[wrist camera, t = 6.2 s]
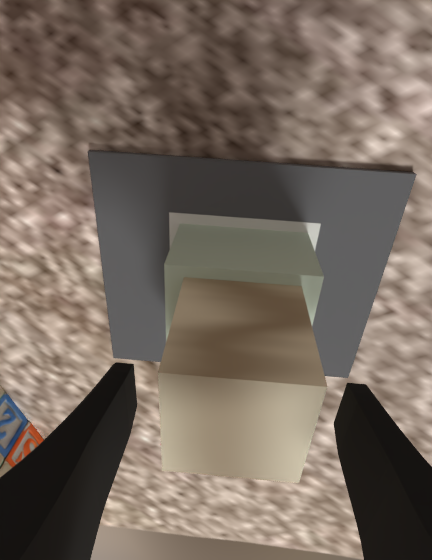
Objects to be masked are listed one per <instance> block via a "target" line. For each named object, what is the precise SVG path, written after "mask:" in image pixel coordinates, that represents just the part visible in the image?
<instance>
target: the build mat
mask: <svg viewBox="0 0 432 560" xmlns="http://www.w3.org/2000/svg"><path fill="white" fill-rule="evenodd" d="M88 157H89V165H90V173H91V181H92V189H93V197H94V205H95V213H96V221H97V229H98V237H99V245H100V253H101V261H102V269H103V277H104V285H105V293H106V301H107V309H108V317H109V325H110V333H111V341H112V349H113V357H114V358H120V359H132V360H144V361H155V362H161V359H162V356H163V352H164V348H165V345H166V318H165V278H164V263H165V261H166V258H167V256H168V253H169V250H170V248H171V245H172V243H173V240H174V237H175V235H176V232H177V230H178V227H179V224H180V223H181V224H194V225H208V226H221V227H235V228H248V229H262V230H275V231H289V232H303V233H308V234H309V237H310V240H311V242H312V245H313V248H314V251H315V253H316V256H317V259H318V261H319V264H320V267H321V270H322V272H323V275H324V279H323V283H322V288H321V292H320V296H319V300H318V304H317V308H316V313H315V317H314V321H313V325H312V329H313V333H314V336H315V340H316V344H317V348H318V352H319V356H320V360H321V364H322V368H323V372H324V376H332V377H343V378H348V376H349V373H350V370H351V367H352V364H353V362H354V359H355V356H356V353H357V350H358V347H359V344H360V341H361V338H362V335H363V332H364V329H365V326H366V323H367V320H368V317H369V314H370V311H371V308H372V305H373V302H374V299H375V296H376V293H377V290H378V287H379V284H380V281H381V278H382V275H383V272H384V269H385V266H386V263H387V260H388V257H389V254H390V251H391V248H392V245H393V242H394V239H395V236H396V234H397V231H398V228H399V225H400V222H401V219H402V216H403V213H404V210H405V207H406V204H407V201H408V198H409V195H410V192H411V189H412V186H413V183H414V180H415V177H416V174H415V173H414V172H402V171H387V170H373V169H358V168H344V167H330V166H315V165H301V164H286V163H272V162H257V161H243V160H228V159H214V158H200V157H185V156H171V155H156V154H142V153H127V152H113V151H99V150H89V151H88Z"/></svg>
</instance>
